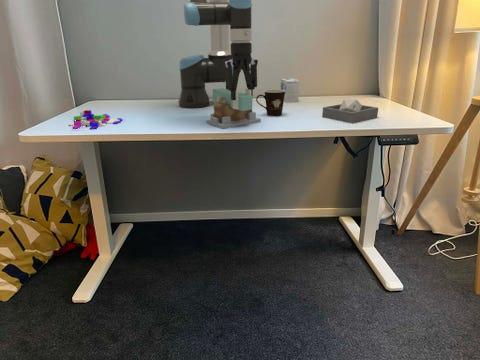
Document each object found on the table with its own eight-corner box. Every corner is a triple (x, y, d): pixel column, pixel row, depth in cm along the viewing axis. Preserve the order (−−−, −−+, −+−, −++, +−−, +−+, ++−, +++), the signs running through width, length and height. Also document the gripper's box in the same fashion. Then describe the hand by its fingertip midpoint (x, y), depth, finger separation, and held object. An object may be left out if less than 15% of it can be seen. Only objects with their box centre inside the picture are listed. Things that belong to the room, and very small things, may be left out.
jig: (222, 129, 135) (221, 119, 134) (205, 123, 144) (205, 114, 143) (261, 121, 145) (261, 112, 144) (243, 116, 154) (243, 108, 153)
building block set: (115, 129, 140) (113, 118, 138) (60, 132, 138) (57, 120, 136) (127, 116, 163) (126, 105, 161) (80, 117, 161) (78, 107, 159)
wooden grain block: (220, 123, 138) (219, 98, 135) (214, 121, 142) (213, 96, 138) (252, 117, 146) (251, 94, 143) (245, 116, 150) (245, 92, 146)
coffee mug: (285, 113, 160) (286, 89, 156) (282, 117, 152) (283, 92, 148) (260, 112, 163) (260, 89, 159) (255, 116, 155) (255, 92, 151)
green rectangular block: (212, 101, 146) (212, 89, 144) (222, 100, 149) (222, 87, 147) (242, 111, 134) (242, 97, 132) (252, 109, 137) (252, 95, 135)
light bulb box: (280, 99, 192) (280, 78, 188) (292, 98, 193) (292, 77, 189) (286, 102, 182) (286, 80, 178) (298, 102, 184) (299, 80, 180)
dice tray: (322, 116, 151) (322, 107, 149) (347, 111, 159) (348, 102, 158) (351, 123, 140) (352, 113, 138) (377, 117, 148) (378, 107, 147)
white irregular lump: (335, 119, 149) (347, 103, 141) (335, 105, 154) (347, 89, 146) (353, 126, 150) (366, 110, 142) (353, 112, 155) (365, 96, 147)
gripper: (225, 42, 121) (227, 112, 130) (267, 41, 131) (267, 106, 139) (213, 42, 127) (216, 109, 135) (255, 41, 137) (255, 103, 145)
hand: (242, 107), depth 137 cm, fingers closed on green rectangular block, 5 cm apart
